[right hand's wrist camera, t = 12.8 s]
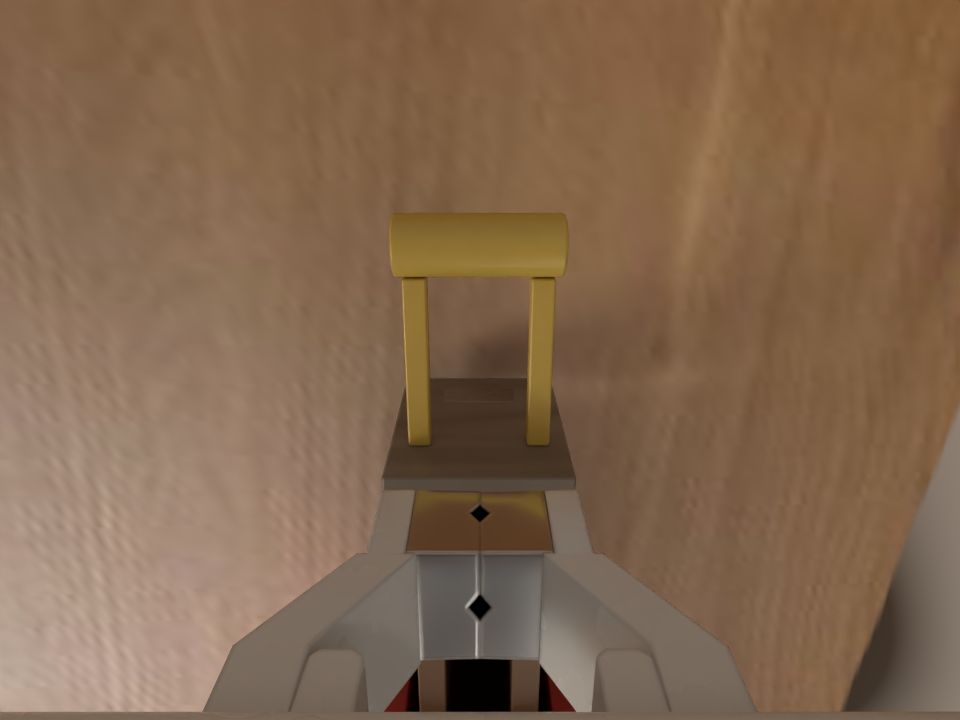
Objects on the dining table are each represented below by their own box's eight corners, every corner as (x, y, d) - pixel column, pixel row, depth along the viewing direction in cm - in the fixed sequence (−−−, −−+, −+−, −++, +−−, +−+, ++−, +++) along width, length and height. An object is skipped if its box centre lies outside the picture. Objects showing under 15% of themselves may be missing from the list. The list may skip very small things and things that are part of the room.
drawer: (398, 189, 20) (365, 227, 14) (558, 189, 20) (591, 227, 14) (422, 741, 29) (407, 910, 23) (535, 742, 29) (550, 909, 23)
